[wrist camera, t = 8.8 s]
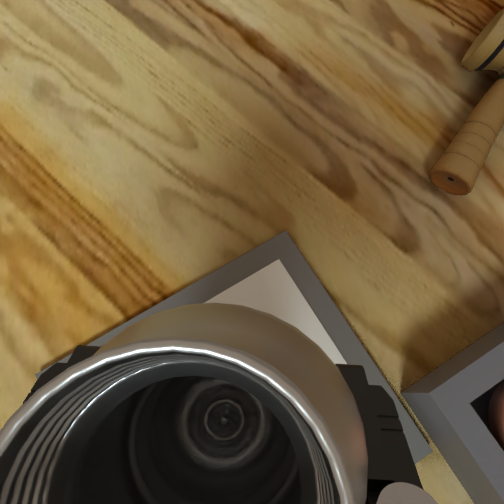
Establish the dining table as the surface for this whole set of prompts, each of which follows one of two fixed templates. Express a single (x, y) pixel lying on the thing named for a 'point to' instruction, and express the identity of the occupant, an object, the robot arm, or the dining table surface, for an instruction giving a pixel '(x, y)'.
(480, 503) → the button housing
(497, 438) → the button
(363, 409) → the robot arm
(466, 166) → the kendama
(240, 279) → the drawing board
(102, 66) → the dining table surface
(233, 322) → the plastic bottle
